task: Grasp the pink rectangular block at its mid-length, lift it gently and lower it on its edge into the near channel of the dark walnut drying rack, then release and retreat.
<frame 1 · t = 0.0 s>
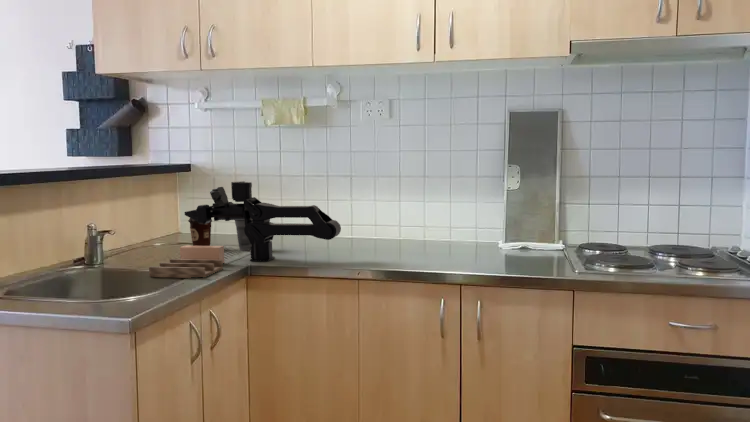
hand: (191, 211, 209), 17 cm above the table, tool horizontal, fingers open, 9 cm apart
coffee cup: (201, 249, 230), on the table
pink rectangular block: (202, 264, 202), on the table
beverage cup: (245, 250, 226), on the table
drying rack: (187, 272, 188), on the table
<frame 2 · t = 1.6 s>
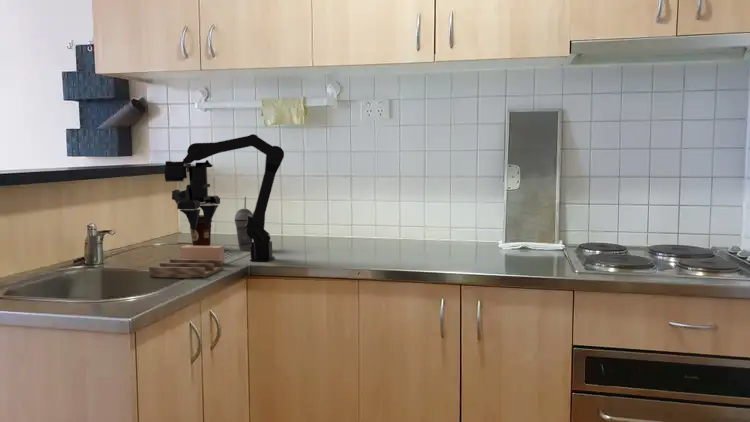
hand: (200, 228, 201), 12 cm above the table, tool pointing down, fingers open, 9 cm apart
nothing on the table moved.
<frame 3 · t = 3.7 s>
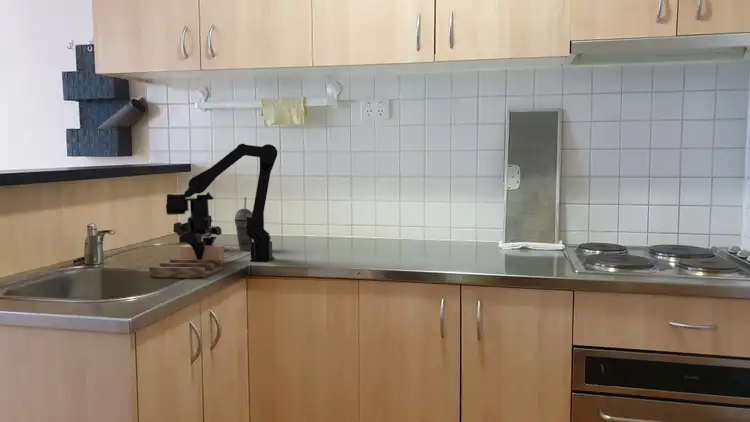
hand: (202, 259, 202), 1 cm above the table, tool pointing down, fingers closed on pink rectangular block, 3 cm apart
pink rectangular block: (202, 263, 202), on the table, touching gripper
everything else where it was.
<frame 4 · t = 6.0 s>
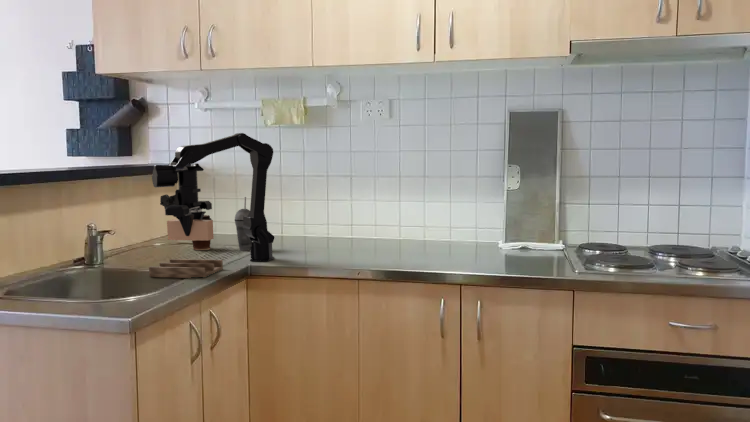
hand: (190, 235, 191), 11 cm above the table, tool pointing down, fingers closed on pink rectangular block, 3 cm apart
pink rectangular block: (190, 239, 191), point 10 cm above the table, touching gripper
everything else where it was.
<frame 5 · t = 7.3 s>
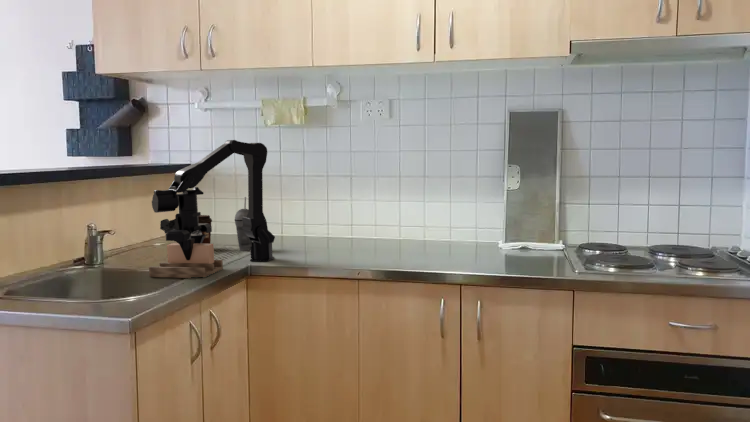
hand: (191, 258, 190), 4 cm above the table, tool pointing down, fingers closed on pink rectangular block, 3 cm apart
pink rectangular block: (191, 263, 191), point 2 cm above the table, touching gripper
everything else where it was.
when the fingers open (4 cm above the table, at t = 8.2 s): pink rectangular block drops 1 cm, resting on drying rack.
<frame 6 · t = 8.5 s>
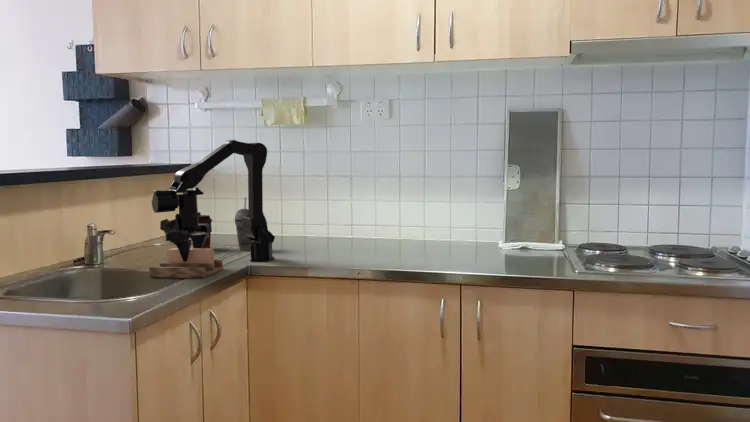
hand: (191, 259, 190), 4 cm above the table, tool pointing down, fingers open, 7 cm apart
pink rectangular block: (191, 267, 191), point 1 cm above the table, touching drying rack
everything else where it was.
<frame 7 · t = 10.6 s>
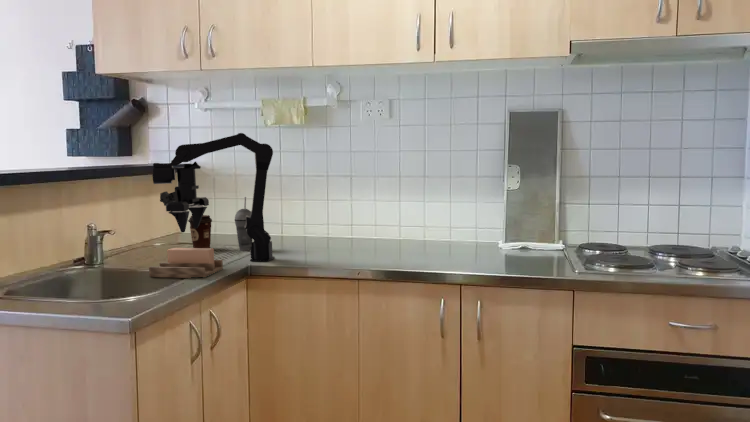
hand: (189, 230, 199), 12 cm above the table, tool pointing down, fingers open, 9 cm apart
nothing on the table moved.
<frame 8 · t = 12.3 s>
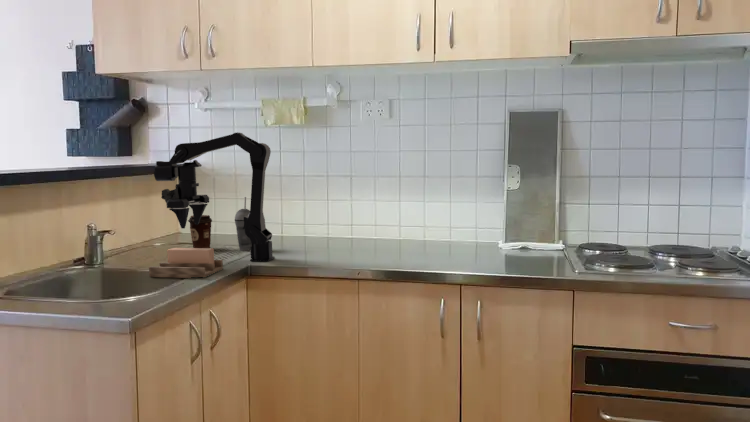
hand: (190, 226, 206), 12 cm above the table, tool pointing down, fingers open, 9 cm apart
nothing on the table moved.
at the end: pink rectangular block 0.0 cm from the target spot on the drying rack, point 1.0 cm above the drying rack's base; pink rectangular block tilted 0°; the gripper is holding nothing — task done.
